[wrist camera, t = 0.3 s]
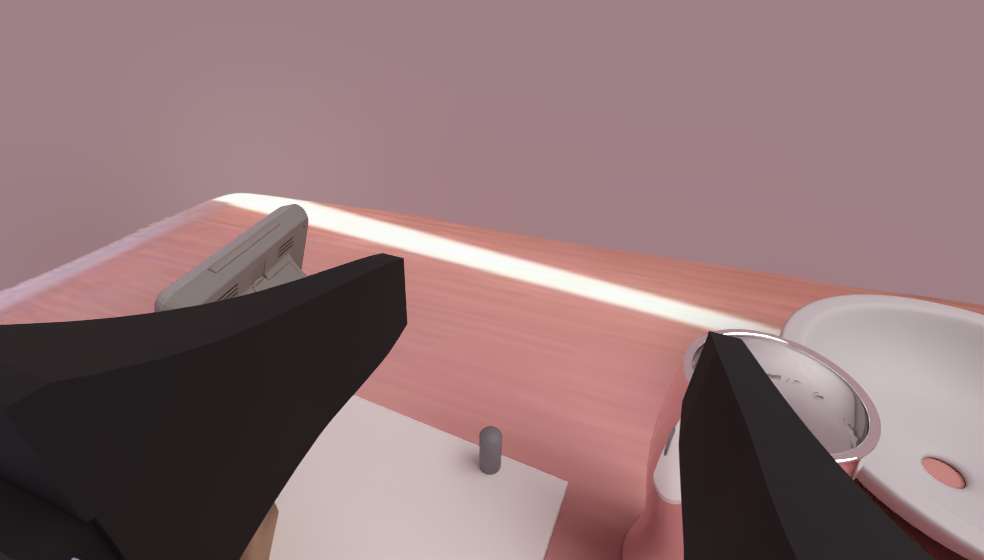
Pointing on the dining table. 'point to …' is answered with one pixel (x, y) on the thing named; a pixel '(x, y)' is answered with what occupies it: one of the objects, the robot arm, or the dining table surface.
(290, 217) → the digital clock
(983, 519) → the soup bowl
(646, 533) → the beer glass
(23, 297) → the dining table surface
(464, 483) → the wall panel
